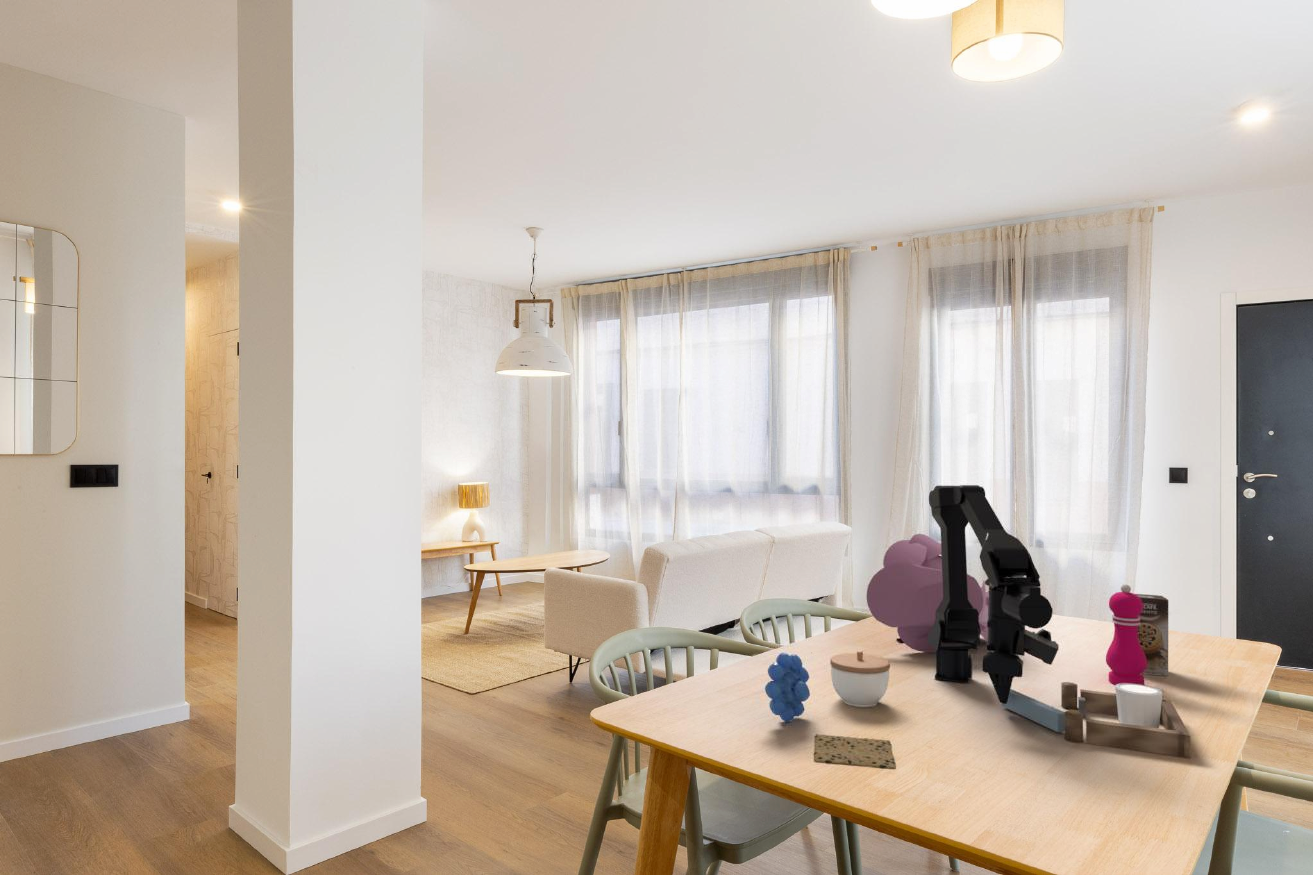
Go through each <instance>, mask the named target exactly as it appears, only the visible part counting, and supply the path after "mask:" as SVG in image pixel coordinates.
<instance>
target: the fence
mask: <svg viewBox="0 0 1313 875" xmlns="http://www.w3.org/2000/svg"><path fill="white" fill-rule="evenodd" d="M1060 685H1061V686H1060V688H1061V689H1060V690H1061V696H1060V697H1061V701H1060V702H1061V705H1060V706H1061V707H1062V708H1063V709H1066V711H1064V712H1065V732H1064V739H1065V740H1066V741H1067V742H1069V743H1070V742H1071V743H1078V744H1079V743H1083V742H1084V719H1085V736H1086V737H1085V740H1086V744H1091V745H1097V746H1104V747H1111V748H1112V747H1113V748H1118V749H1125V750H1131V751H1132V750H1133V751H1139V752H1144V753H1145V752H1146V753H1153V754H1160V755H1167V756H1172V757H1179V758H1180V757H1181V758H1185V759H1186V758H1188V759H1191V758H1192V757H1191V756H1192V753H1191V750H1192V748H1191V741H1192V740H1191V734H1190V732H1189V731H1188V729H1187V726H1186V725H1185V723H1184V722H1183V720H1182V718H1181V716H1180V714H1179V712H1178V711H1177V709H1176V707H1175V706H1174V703H1173V701H1172V700H1171V699H1166V698H1164V699H1163V698H1162V703H1161V713H1160V722H1161V723H1162V726H1163V728H1160V727H1159V728H1152V727H1144V726H1137V725H1129V724H1122V723H1119V722H1113V721H1108V720H1107V721H1105V720H1098V719H1090V718H1086V712H1088V711H1089V712H1090V713H1096V714H1105V715H1110V716H1111V715H1112V716H1118V708H1117V699H1116V692H1105V691H1097V690H1091V689H1090V690H1089V689H1088V690H1087V689H1080V696H1078V684H1077V683H1075V682H1070V681H1063V682H1061V683H1060ZM1077 709H1078V710H1077Z"/></svg>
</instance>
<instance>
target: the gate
mask: <svg viewBox="0 0 1313 875" xmlns="http://www.w3.org/2000/svg"><path fill="white" fill-rule="evenodd" d="M1001 706H1002V707H1003V708H1005V709H1008V710H1009V711H1012V712H1014V713H1016V714H1019V715H1021V716H1022V717H1024V718H1027V719H1029V720H1031V721H1034V722H1035V723H1037V724H1038V725H1042V726H1044V727H1046V728H1048V729H1050V730H1052V731H1055V732H1056V733H1065V711H1064V710H1063V711H1062V710H1060V709H1058V708H1056V707H1053V706H1051V705H1049V704H1047V703H1044V702H1042V701H1040V700H1037V699H1035V698H1033V697H1031V696H1028V695H1025V694H1023V693H1021V692H1019V691H1016V690H1014V689H1012V688H1010V693H1009V697H1008V701H1007V704H1002V703H1001Z"/></svg>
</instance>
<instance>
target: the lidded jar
mask: <svg viewBox="0 0 1313 875" xmlns="http://www.w3.org/2000/svg"><path fill="white" fill-rule="evenodd" d="M863 652H864V651H862V650H857V652H855V653H854V652H853V653H851V652H848V653H839V654H835V655H833V656H831V658H830V659H829V660H830V662H829V663H830V673H831V675H830V676H831V681H832V686H833V688H834V691H835V692H836V694H837V695H838V696H839V697H840V699H841V700H842V702H843V703H844V704H845V705H848V706H851V707H856V708H871V707H875V706H877V705H878V702H879V701H880V700H882V699H883V698H884V696H885V694H886V693H887V690H888V686H889V683H890V680H889V679H890V668H891V663H890V661H889V659H886V658H884V657H882V656H879V655H875V654H868V653H863Z"/></svg>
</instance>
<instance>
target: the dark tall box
mask: <svg viewBox="0 0 1313 875" xmlns="http://www.w3.org/2000/svg"><path fill="white" fill-rule="evenodd" d="M1118 592H1119V591H1118ZM1118 592H1115V593H1118ZM1134 594H1135V595H1137V596H1138V597H1139V598H1140V599H1141V600H1142V603H1143V611H1142V612H1141V613H1140V614H1139V616H1138V617H1139V618H1140V620H1139V621H1140V625H1138V631H1137V632H1138V640H1139V643H1140V645H1141V648H1142V650H1143V652H1144V654H1145V656H1146V659H1147V668H1146V670H1145V671H1144V672H1142V673H1141V674H1145V675H1154V676H1155V675H1156V676H1166V677H1168V676H1169V599H1167V598H1166V597H1164V596H1163V595H1156V594H1142V593H1134Z"/></svg>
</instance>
